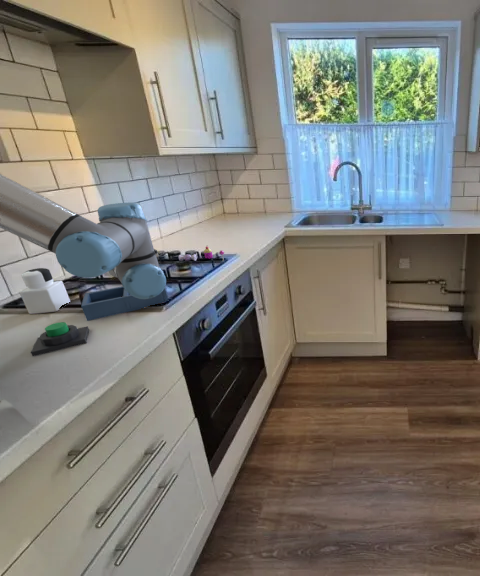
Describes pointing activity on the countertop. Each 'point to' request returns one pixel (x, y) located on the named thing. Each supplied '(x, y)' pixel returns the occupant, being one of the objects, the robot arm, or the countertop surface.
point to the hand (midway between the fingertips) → (116, 247)
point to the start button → (56, 329)
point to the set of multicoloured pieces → (188, 257)
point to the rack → (115, 302)
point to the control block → (60, 340)
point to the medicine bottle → (42, 292)
